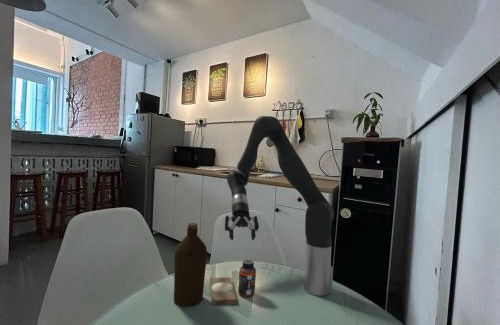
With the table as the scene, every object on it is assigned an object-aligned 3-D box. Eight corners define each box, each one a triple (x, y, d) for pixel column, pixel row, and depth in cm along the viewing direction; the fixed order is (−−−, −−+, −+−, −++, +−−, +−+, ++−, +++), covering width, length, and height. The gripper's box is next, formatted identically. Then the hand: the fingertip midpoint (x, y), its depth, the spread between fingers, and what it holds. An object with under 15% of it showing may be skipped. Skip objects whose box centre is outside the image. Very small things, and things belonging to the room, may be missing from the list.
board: (230, 281, 95) (230, 276, 95) (236, 303, 80) (236, 298, 80) (209, 281, 94) (210, 277, 94) (211, 305, 78) (212, 300, 78)
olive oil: (210, 301, 80) (214, 225, 81) (180, 312, 73) (185, 229, 74) (194, 288, 88) (198, 219, 89) (166, 297, 81) (170, 222, 82)
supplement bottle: (253, 299, 83) (254, 265, 83) (236, 296, 84) (238, 263, 84) (256, 290, 89) (257, 259, 89) (240, 288, 90) (241, 257, 90)
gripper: (225, 200, 106) (226, 234, 94) (257, 201, 109) (261, 234, 97) (223, 210, 111) (224, 243, 99) (253, 211, 114) (258, 243, 102)
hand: (242, 239), depth 98 cm, fingers open, 8 cm apart
